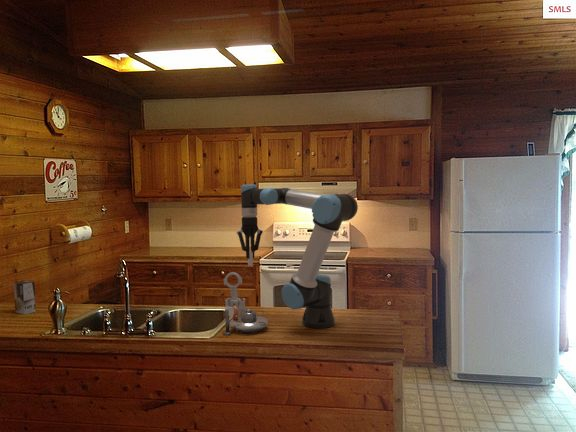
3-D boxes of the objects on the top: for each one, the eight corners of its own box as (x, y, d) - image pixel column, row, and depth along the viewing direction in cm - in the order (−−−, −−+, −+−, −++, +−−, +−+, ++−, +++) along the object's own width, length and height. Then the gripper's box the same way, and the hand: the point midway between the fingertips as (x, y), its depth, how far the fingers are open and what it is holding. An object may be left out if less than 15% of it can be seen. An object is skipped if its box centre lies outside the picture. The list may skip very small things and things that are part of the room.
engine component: (243, 314, 239) (246, 309, 249) (242, 274, 238) (246, 270, 248) (222, 314, 240) (226, 309, 250) (221, 274, 239) (225, 270, 249)
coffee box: (36, 311, 250) (35, 281, 249) (24, 314, 244) (22, 283, 243) (26, 309, 255) (25, 280, 254) (14, 312, 249) (13, 282, 248)
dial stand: (225, 335, 205) (225, 309, 204) (221, 333, 208) (220, 307, 207) (234, 333, 207) (234, 307, 206) (230, 331, 210) (229, 306, 210)
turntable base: (267, 328, 215) (267, 323, 215) (251, 335, 205) (251, 330, 205) (247, 324, 222) (247, 320, 222) (230, 330, 212) (230, 326, 212)
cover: (250, 317, 218) (250, 306, 218) (259, 320, 213) (259, 309, 213) (238, 320, 214) (237, 309, 213) (247, 323, 208) (246, 312, 208)
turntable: (255, 317, 225) (254, 301, 225) (275, 325, 211) (275, 308, 211) (223, 323, 215) (222, 307, 215) (242, 332, 201) (241, 315, 201)
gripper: (239, 217, 221) (240, 267, 223) (265, 216, 227) (265, 265, 228) (234, 216, 228) (235, 265, 229) (259, 215, 234) (260, 263, 235)
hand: (250, 265), depth 229 cm, fingers closed
